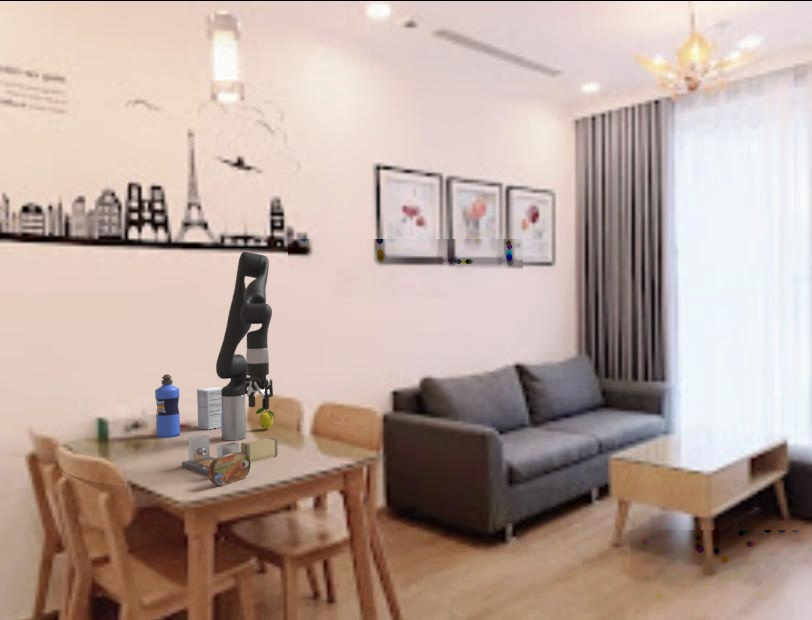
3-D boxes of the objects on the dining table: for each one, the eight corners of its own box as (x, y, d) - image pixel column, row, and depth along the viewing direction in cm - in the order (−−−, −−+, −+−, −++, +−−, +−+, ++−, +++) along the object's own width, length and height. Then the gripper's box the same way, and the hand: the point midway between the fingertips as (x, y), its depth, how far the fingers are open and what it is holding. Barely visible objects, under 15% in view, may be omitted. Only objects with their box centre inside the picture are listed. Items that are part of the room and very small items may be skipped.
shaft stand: (181, 465, 223) (180, 437, 223) (208, 460, 230) (208, 432, 230) (219, 479, 205) (218, 448, 205) (247, 473, 212) (247, 443, 212)
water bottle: (171, 432, 280) (169, 372, 280) (185, 434, 275) (183, 374, 274) (151, 436, 273) (149, 375, 272) (165, 438, 267) (163, 376, 267)
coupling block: (247, 463, 225) (247, 445, 225) (241, 461, 228) (240, 443, 228) (277, 456, 234) (277, 439, 234) (271, 454, 237) (270, 437, 237)
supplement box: (228, 426, 290) (227, 388, 290) (208, 430, 283) (207, 390, 283) (216, 424, 297) (215, 386, 296) (197, 427, 290) (196, 388, 289)
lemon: (255, 429, 283) (255, 406, 282) (267, 427, 287) (267, 404, 286) (264, 431, 278) (263, 407, 277) (276, 429, 282) (275, 406, 281)
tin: (214, 488, 196) (213, 460, 196) (206, 487, 197) (206, 459, 197) (251, 476, 208) (251, 449, 208) (244, 475, 210) (243, 448, 210)
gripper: (278, 361, 228) (279, 408, 228) (255, 359, 238) (256, 404, 239) (259, 363, 223) (260, 411, 223) (237, 361, 233) (238, 407, 233)
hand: (258, 408), depth 231 cm, fingers open, 8 cm apart
